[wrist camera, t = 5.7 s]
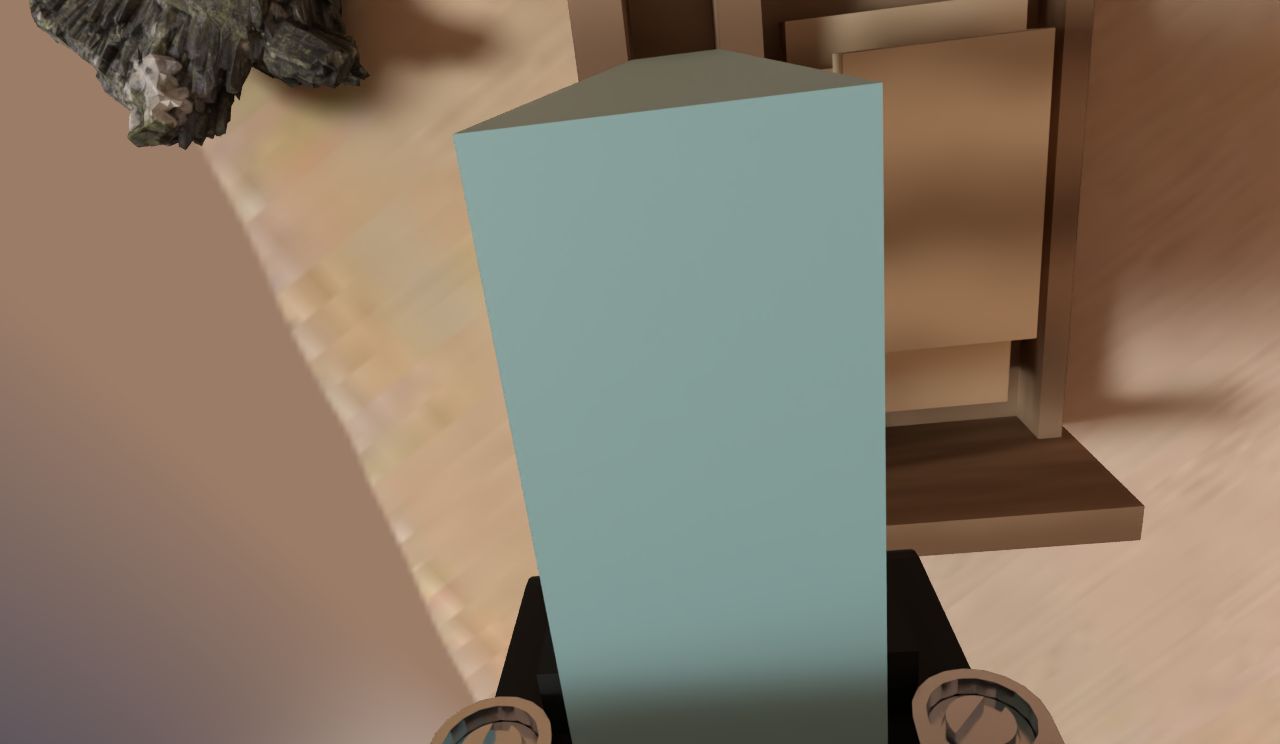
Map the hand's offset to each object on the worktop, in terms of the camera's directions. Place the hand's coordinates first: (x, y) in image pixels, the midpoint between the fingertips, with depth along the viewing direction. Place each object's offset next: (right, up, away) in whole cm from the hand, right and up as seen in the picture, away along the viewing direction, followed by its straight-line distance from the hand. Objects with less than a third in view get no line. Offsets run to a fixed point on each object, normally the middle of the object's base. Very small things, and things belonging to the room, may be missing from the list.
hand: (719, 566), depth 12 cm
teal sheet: (+1, +6, +14) cm, 15 cm away
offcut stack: (+10, +10, +23) cm, 27 cm away
